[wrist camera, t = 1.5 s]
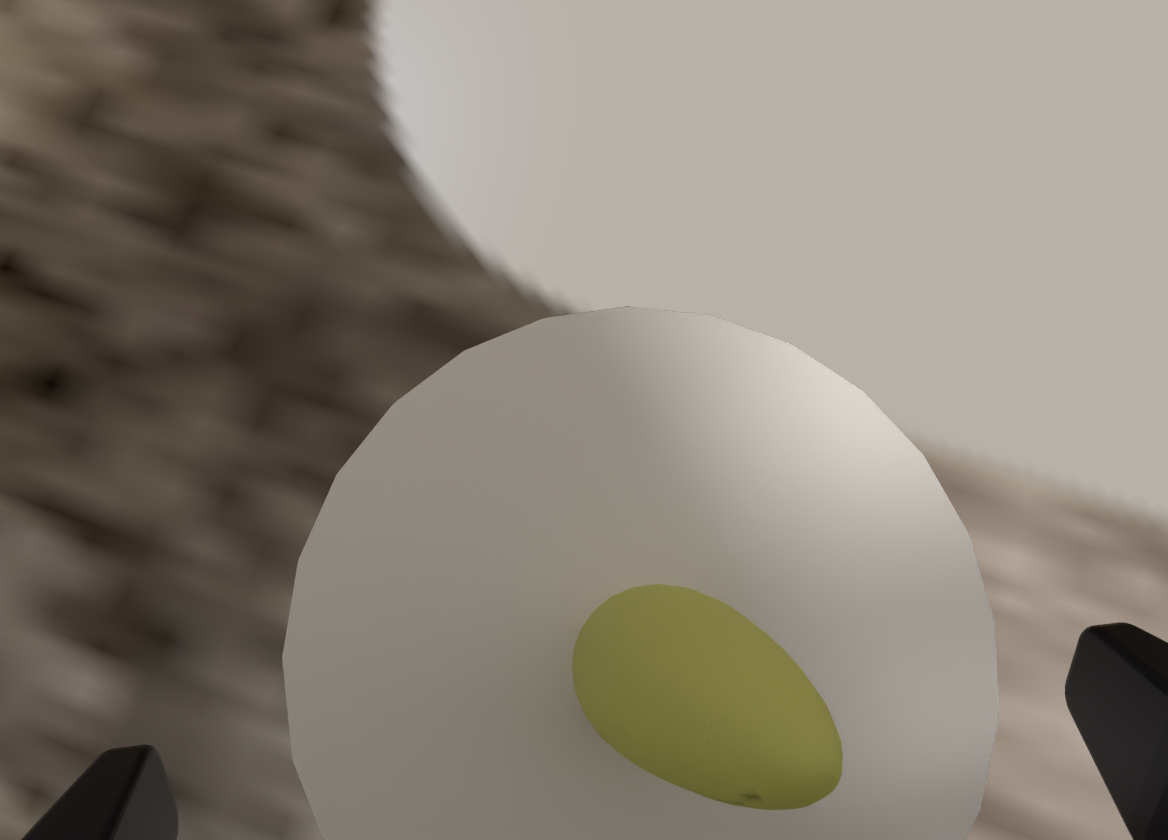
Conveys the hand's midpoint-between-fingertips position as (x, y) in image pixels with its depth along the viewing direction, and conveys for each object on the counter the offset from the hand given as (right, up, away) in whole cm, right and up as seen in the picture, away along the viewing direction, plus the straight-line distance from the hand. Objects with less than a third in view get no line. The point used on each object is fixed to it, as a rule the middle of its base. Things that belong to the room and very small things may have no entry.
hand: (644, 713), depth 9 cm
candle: (-1, -2, +9) cm, 10 cm away
